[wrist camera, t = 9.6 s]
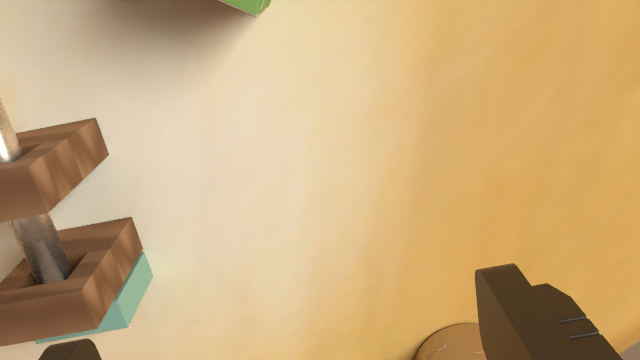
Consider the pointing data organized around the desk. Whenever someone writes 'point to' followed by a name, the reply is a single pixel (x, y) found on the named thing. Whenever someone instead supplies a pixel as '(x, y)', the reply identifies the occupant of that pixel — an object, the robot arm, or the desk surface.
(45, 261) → the shaft
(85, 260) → the bearing blocks
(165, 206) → the desk surface
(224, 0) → the ink box
